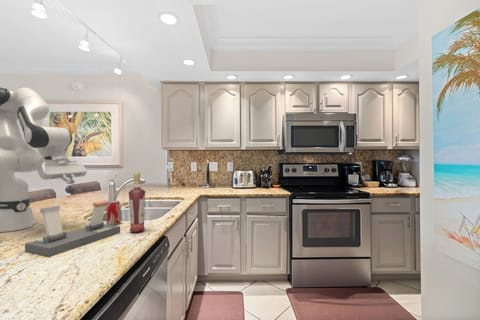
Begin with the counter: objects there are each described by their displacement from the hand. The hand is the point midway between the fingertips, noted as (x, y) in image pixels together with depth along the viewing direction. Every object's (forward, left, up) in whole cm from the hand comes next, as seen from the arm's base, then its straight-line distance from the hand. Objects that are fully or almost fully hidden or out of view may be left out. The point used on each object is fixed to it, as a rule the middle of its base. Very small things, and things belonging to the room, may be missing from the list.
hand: (71, 183), depth 120 cm
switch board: (+15, -8, -23) cm, 29 cm away
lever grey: (+16, -17, -20) cm, 31 cm away
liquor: (+28, +12, -23) cm, 39 cm away
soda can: (+6, +18, -23) cm, 30 cm away
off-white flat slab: (+15, 0, -20) cm, 25 cm away
